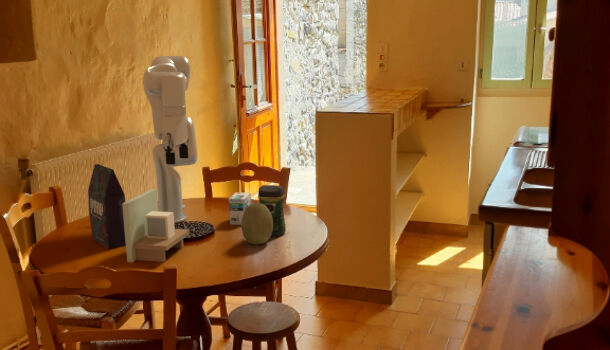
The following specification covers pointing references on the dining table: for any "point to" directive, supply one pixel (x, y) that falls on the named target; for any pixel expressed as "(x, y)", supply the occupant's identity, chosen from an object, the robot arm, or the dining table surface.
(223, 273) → the dining table surface
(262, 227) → the fruit
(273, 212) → the coffee jar
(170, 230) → the cabinet block
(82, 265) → the dining table surface
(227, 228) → the dining table surface
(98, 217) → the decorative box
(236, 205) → the light bulb box
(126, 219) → the pale l-shaped piece
